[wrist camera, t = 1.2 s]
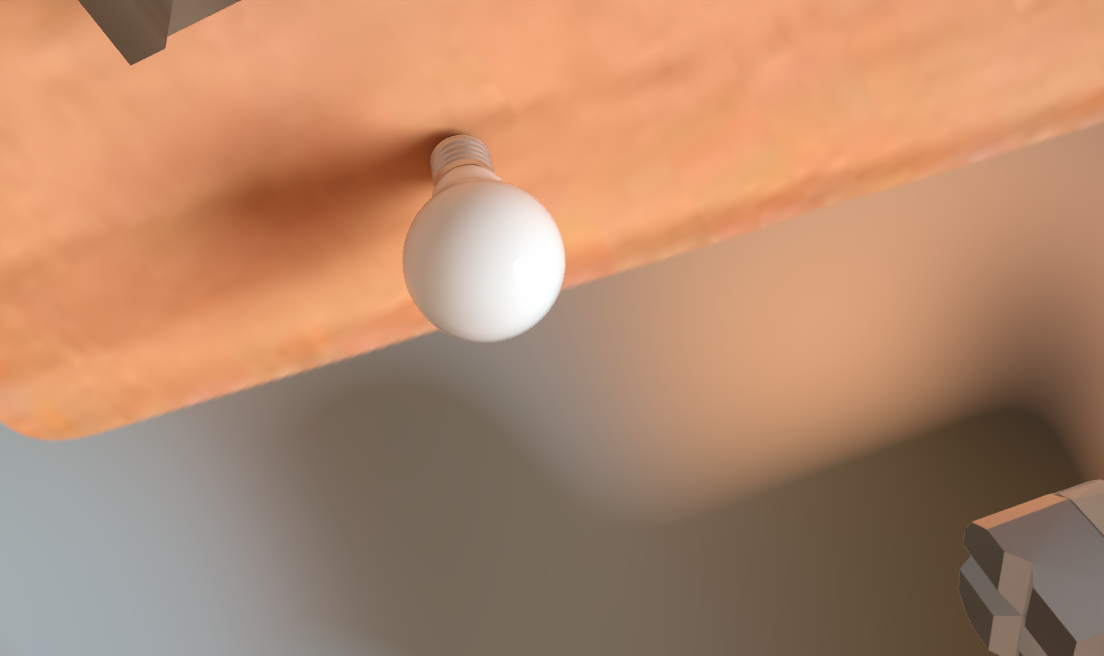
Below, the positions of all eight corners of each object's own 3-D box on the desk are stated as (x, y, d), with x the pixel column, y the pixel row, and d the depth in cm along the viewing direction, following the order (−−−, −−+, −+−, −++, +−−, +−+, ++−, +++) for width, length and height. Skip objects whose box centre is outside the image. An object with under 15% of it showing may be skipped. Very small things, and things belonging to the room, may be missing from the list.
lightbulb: (357, 139, 43) (375, 305, 36) (481, 62, 42) (528, 216, 34) (438, 233, 48) (470, 399, 40) (552, 165, 46) (609, 324, 38)
